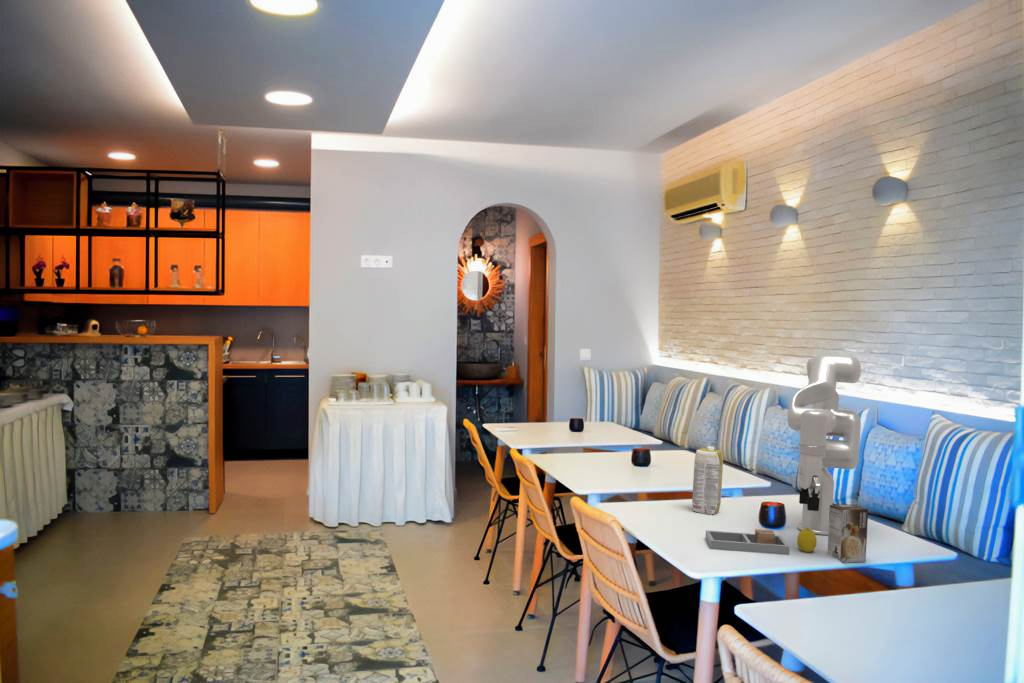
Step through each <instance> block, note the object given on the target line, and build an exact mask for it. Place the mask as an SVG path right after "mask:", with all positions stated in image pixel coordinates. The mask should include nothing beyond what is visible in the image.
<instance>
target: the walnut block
mask: <svg viewBox="0 0 1024 683" xmlns="http://www.w3.org/2000/svg"><path fill="white" fill-rule="evenodd" d="M754 530H755V531H754V534H755V543H761V544H774V545H775V535H776V533H775V532H774V530H772V529H763V528H755V529H754Z"/></svg>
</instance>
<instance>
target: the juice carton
mask: <svg viewBox="0 0 1024 683" xmlns="http://www.w3.org/2000/svg"><path fill="white" fill-rule="evenodd" d="M723 468H724V456H723V450H717V449H716V450H715V446H709V445H708V446H707V447H706V448H704V447H701V448H699V449H697V450H695V455H694V464H693V482H692V498H691V499H692V502H691V503H692V510H693V512H694V511H695V512H694V513H699V512H701V514H705V513H707V514H706V515H710V514H714V515H716V514H717V513H719V511H720V508H721V502H722V487H723ZM715 513H716V514H715Z"/></svg>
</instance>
